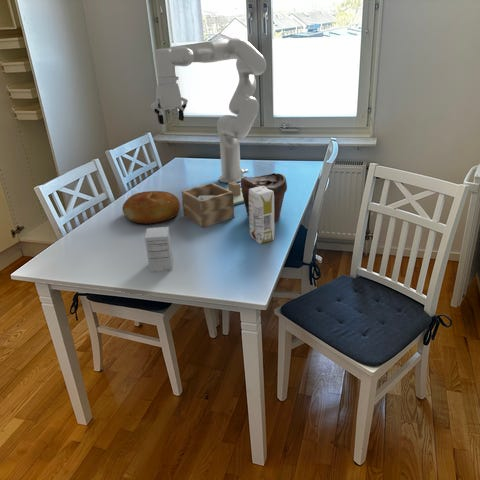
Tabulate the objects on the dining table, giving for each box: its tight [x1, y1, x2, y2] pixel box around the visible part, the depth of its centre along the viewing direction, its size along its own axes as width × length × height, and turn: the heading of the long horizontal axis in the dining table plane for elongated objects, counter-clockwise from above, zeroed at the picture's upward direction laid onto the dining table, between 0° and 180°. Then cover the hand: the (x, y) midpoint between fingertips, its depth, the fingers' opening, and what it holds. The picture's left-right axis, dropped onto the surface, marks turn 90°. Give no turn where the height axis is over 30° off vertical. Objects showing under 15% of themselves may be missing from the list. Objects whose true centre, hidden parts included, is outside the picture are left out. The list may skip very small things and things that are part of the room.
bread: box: [121, 190, 181, 225], centre depth 184 cm, size 23×23×10 cm
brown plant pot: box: [240, 173, 288, 223], centre depth 175 cm, size 18×20×18 cm
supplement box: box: [144, 226, 174, 273], centre depth 144 cm, size 7×7×13 cm
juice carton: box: [248, 186, 275, 245], centre depth 158 cm, size 8×9×19 cm
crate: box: [180, 182, 235, 229], centre depth 180 cm, size 15×15×11 cm
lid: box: [226, 182, 244, 206], centre depth 199 cm, size 17×17×6 cm
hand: (171, 122), depth 193 cm, fingers open, 9 cm apart
